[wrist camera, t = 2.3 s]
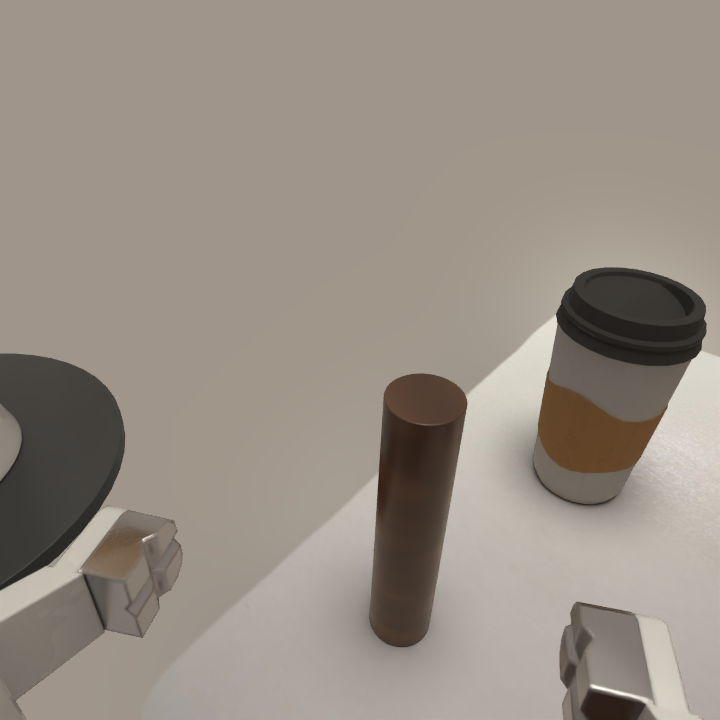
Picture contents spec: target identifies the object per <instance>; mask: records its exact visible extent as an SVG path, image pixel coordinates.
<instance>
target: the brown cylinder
mask: <svg viewBox="0 0 720 720" xmlns="http://www.w3.org/2000/svg"><path fill="white" fill-rule="evenodd" d="M466 409H467V399H466V396H465V394H464V392H463V391H462V390H461V389H460V388H459V387H458V386H457V385H456V384H454V383H453V382H451V381H449V380H447V379H445V378H443V377H439V376H436V375H431V374H411V375H406V376H402V377H400V378H398V379H395V380H394V381H393V382H391V383H390V384H389V385H388V386H387V388H386V390H385V393H384V401H383V417H382V432H381V433H382V434H381V448H380V464H379V479H378V495H377V511H376V526H375V542H374V558H373V574H372V589H371V605H370V622H371V625H372V628H373V630H374V632H375V633H376V634H377V635H378V637H379V638H381V639H382V640H383V641H385V642H386V643H388V644H391V645H394V646H400V647H403V646H410V645H413V644H415V643H417V642H418V641H420V640H421V639H422V638H423V637H424V636H425V634H426V633H427V630H428V627H429V623H430V617H431V611H432V606H433V600H434V594H435V588H436V582H437V577H438V571H439V565H440V559H441V554H442V548H443V542H444V536H445V531H446V525H447V519H448V513H449V507H450V502H451V496H452V490H453V484H454V479H455V473H456V467H457V461H458V456H459V450H460V444H461V438H462V432H463V427H464V421H465V415H466Z"/></svg>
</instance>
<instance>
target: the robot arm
mask: <svg viewBox="0 0 720 720" xmlns="http://www.w3.org/2000/svg"><path fill="white" fill-rule="evenodd" d="M21 442H22V432H21V428H20V425H19V423H18V421H17V420H16V419H15V417H14V416H13V415H12V414H11V413H10V412H8V411H7V410H6V409H5V408H4V407H3V406H2V405H1V404H0V481H1V480H2V479H3V477H4V476H5V475H6V474H7V472H8V471H9V470H10V468H11V467H12V465H13V463H14V462H15V460H16V458H17V456H18V453H19V450H20V447H21ZM176 533H177V527H176V524H175V521H174V520H169V519H165V518H161V517H156V516H152V515H148V514H143V513H139V512H134V511H130V510H126V509H120V508H116V507H112V506H106V507H104V508H103V509H101V510H100V511H99V512H98V513H97V514H96V515H95V516H94V518H93V519H92V520H91V521H90V523H89V524H88V525H87V526H86V527H85V529H84V530H83V531H82V532H81V533H80V535H79V536H78V537H77V538H76V540H75V541H74V542H73V543H72V544H71V546H70V547H69V548H68V549H67V551H66V552H65V553H64V554H63V555H62V557H61V558H60V559H59V560H58V561H57V563H56V564H55V565H54V566H53V567H51V566H45V567H43V568H42V569H40V570H38V571H36V572H34V573H32V574H30V575H28V576H27V577H25V578H23V579H21V580H19V581H17V582H15V583H13V584H12V585H10V586H8V587H6V588H4V589H2V590H0V720H26V718H25V716H24V714H23V713H22V711H21V709H20V708H19V706H18V705H17V703H16V700H17V699H18V698H19V697H21V696H22V695H23V694H25V693H26V692H27V691H28V690H30V689H31V688H32V687H34V686H35V685H36V684H38V683H39V682H40V681H42V680H43V679H44V678H45V677H47V676H48V675H49V674H51V673H52V672H53V671H55V670H56V669H57V668H59V667H60V666H61V665H63V664H64V663H65V662H66V661H68V660H69V659H70V658H72V657H73V656H74V655H76V654H77V653H78V652H79V651H81V650H82V649H83V648H85V647H86V646H87V645H89V644H90V643H91V642H93V641H94V640H95V639H97V638H98V637H99V636H100V635H102V634H103V633H104V632H105V631H104V630H109V631H113V632H118V633H123V634H128V635H132V636H136V637H141V638H143V636H144V635H145V633H146V631H147V629H148V628H149V626H150V624H151V623H152V621H153V619H154V618H155V616H156V614H157V612H158V611H159V609H160V608H159V599H158V598H159V597H160V596H162V595H163V594H165V593H166V592H168V591H170V590H171V588H172V587H173V585H174V583H175V581H176V579H177V578H178V575H179V571H180V568H181V565H182V554H183V553H182V549H181V545H180V544H179V543H178V542H177V541H176V540H175V539H174V536H175V535H176ZM570 614H571V625H568V626H566V627H565V629H564V632H563V635H562V639H561V646H560V679H561V681H562V682H563V684H564V685H565V686H566V688H567V689H568V690H567V693H566V695H565V698H564V700H563V703H562V709H563V720H703V719H702V718H701V717H700V716H698V715H694V714H691V713H690V710H689V706H688V702H687V698H686V694H685V691H684V687H683V683H682V679H681V675H680V671H679V667H678V663H677V659H676V656H675V652H674V648H673V644H672V640H671V636H670V632H669V628H668V625H667V624H666V622H665V621H664V620H663V619H660V618H655V617H650V616H645V615H639V614H634V613H632V612H628V611H623V610H618V609H613V608H607V607H602V606H597V605H591V604H586V603H581V602H576V603H575V604H574V605H573V607H572V610H571V613H570Z"/></svg>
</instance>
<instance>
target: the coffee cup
mask: <svg viewBox="0 0 720 720" xmlns="http://www.w3.org/2000/svg"><path fill="white" fill-rule="evenodd" d="M705 313H706V306H705V304H704V302H703V300H702V299H701V297H700V296H698V295H697V294H696V293H695V292H694V291H693V290H691V289H689V288H688V287H686V286H684V285H683V284H681V283H679V282H676V281H674V280H672V279H669V278H667V277H664V276H661V275H657V274H654V273H651V272H646V271H641V270H636V269H628V268H598V269H592V270H589V271H586V272H583V273H582V274H580V275H579V276H577V277H576V279H575V282H574V284H573V286H572V287H571V288H569V289H568V290H567V291H566V292H565V294H564V296H563V298H562V301H561V305H560V307H559V309H558V311H557V313H556V317H557V323H558V325H557V330H556V336H555V341H554V347H553V352H552V358H551V363H550V367H549V370H548V372H547V377H546V382H545V388H544V394H543V399H542V405H541V410H540V416H539V422H538V434H537V439H536V445H535V450H534V456H533V459H534V466H535V468H536V472H537V474H538V476H539V479H540V480H541V481H542V483H543V484H544V485H545V486H546V487H547V488H548V489H549V490H551V491H552V492H553V493H555V494H556V495H558V496H560V497H562V498H564V499H566V500H569V501H572V502H575V503H581V504H598V503H602V502H605V501H607V500H608V499H611V498H612V497H614V496H615V495H617V494H618V493H619V492H620V491H621V489H622V488H623V486H624V484H625V482H626V480H627V479H628V477H629V475H630V473H631V471H632V469H633V467H634V466H635V464H636V463H637V461H638V460H639V458H640V457H641V455H642V453H643V451H644V450H645V448H646V446H647V444H648V442H649V440H650V439H651V437H652V435H653V433H654V431H655V429H656V428H657V426H658V424H659V422H660V420H661V418H662V417H663V415H664V413H665V411H666V409H667V407H668V403H669V401H670V399H671V397H672V395H673V393H674V391H675V390H676V388H677V386H678V384H679V382H680V380H681V378H682V377H683V375H684V373H685V371H686V369H687V367H688V365H689V364H690V362H691V360H692V359H693V358H695V357H696V356H697V355H698V353H699V352H700V351H701V347H702V339H703V338H704V336H705V335H706V322H705V320H704V316H705Z"/></svg>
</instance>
